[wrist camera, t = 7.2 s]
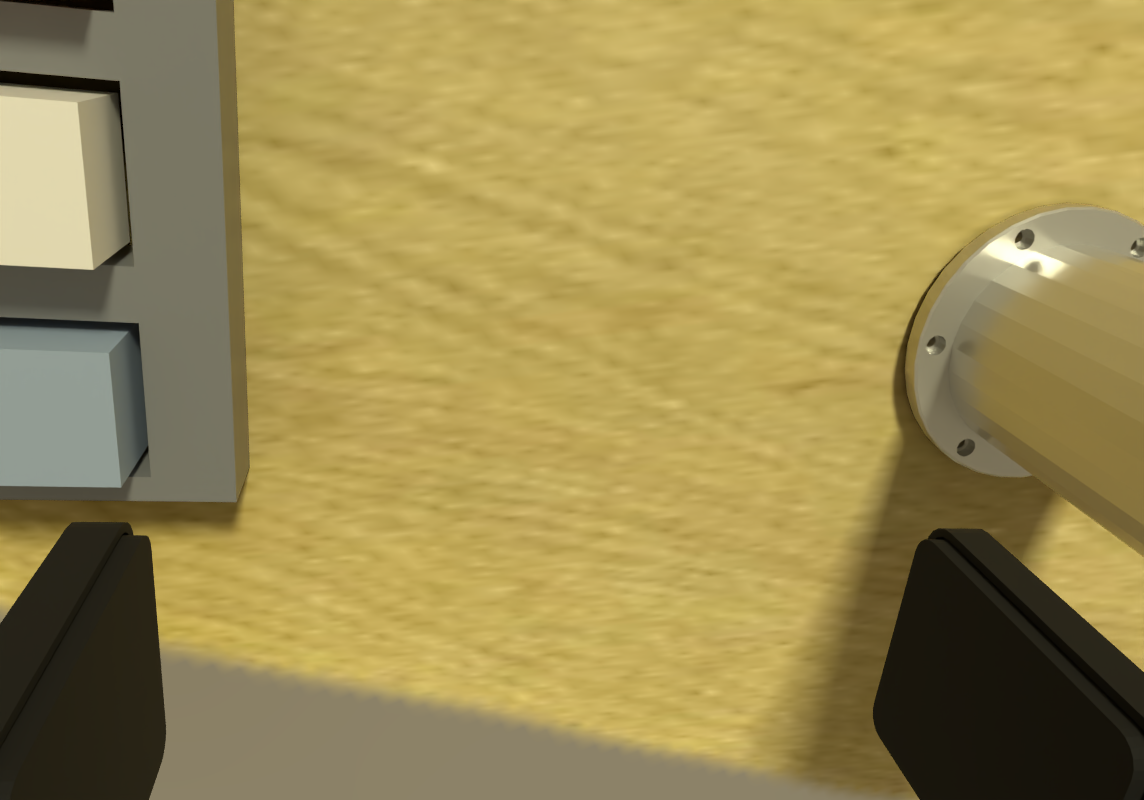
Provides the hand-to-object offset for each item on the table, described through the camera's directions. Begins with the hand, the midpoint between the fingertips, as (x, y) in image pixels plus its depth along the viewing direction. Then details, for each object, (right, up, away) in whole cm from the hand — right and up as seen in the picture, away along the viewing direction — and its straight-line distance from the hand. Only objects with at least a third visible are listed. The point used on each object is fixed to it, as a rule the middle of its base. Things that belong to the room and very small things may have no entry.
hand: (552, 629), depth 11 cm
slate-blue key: (-18, +4, +23) cm, 30 cm away
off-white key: (-18, +11, +20) cm, 28 cm away
